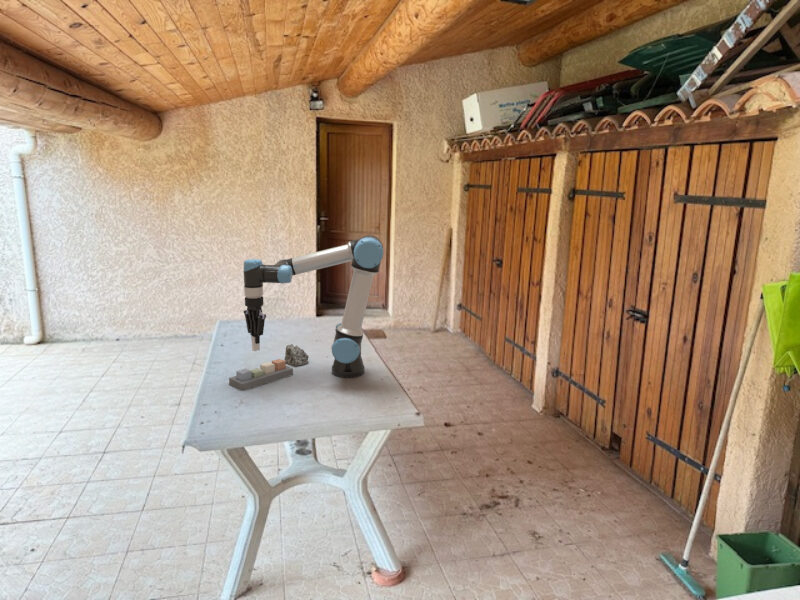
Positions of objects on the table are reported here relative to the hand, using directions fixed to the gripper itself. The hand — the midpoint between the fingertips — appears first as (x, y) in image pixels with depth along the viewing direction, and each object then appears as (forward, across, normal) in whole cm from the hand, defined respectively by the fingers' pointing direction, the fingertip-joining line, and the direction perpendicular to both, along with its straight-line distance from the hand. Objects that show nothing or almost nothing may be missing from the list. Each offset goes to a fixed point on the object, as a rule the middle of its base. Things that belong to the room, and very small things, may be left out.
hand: (256, 350), depth 219 cm
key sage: (+13, 0, 0) cm, 13 cm away
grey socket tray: (+14, 0, -3) cm, 14 cm away
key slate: (+12, 0, +6) cm, 13 cm away
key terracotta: (+12, 0, -12) cm, 17 cm away
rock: (+15, +7, -27) cm, 31 cm away
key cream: (+12, 0, -6) cm, 13 cm away
